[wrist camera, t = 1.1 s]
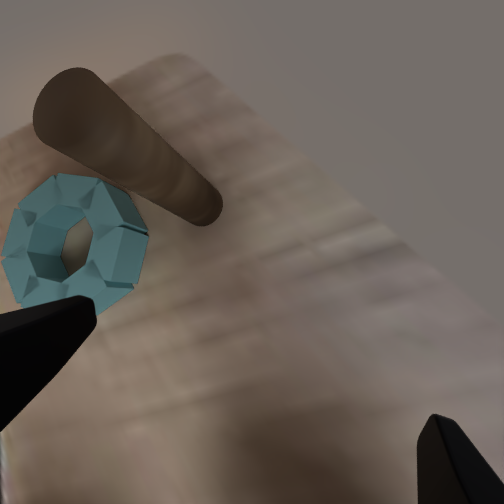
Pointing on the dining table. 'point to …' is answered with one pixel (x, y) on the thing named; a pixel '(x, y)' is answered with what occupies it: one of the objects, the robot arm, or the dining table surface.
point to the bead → (53, 236)
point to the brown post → (120, 145)
